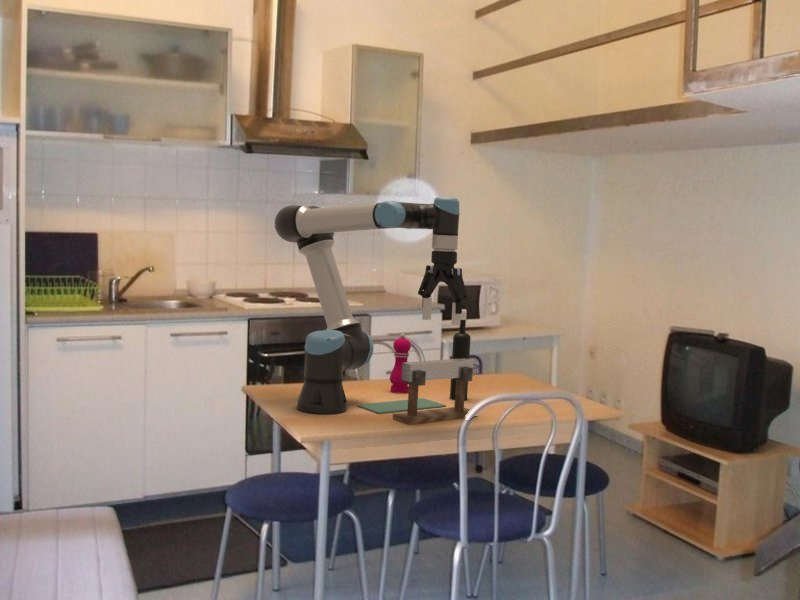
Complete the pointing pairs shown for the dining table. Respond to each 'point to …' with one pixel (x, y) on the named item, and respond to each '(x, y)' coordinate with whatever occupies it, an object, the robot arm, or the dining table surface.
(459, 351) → the wine bottle
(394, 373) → the pepper mill
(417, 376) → the hook stand
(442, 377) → the rail
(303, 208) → the robot arm
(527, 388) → the dining table surface
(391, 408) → the mat
